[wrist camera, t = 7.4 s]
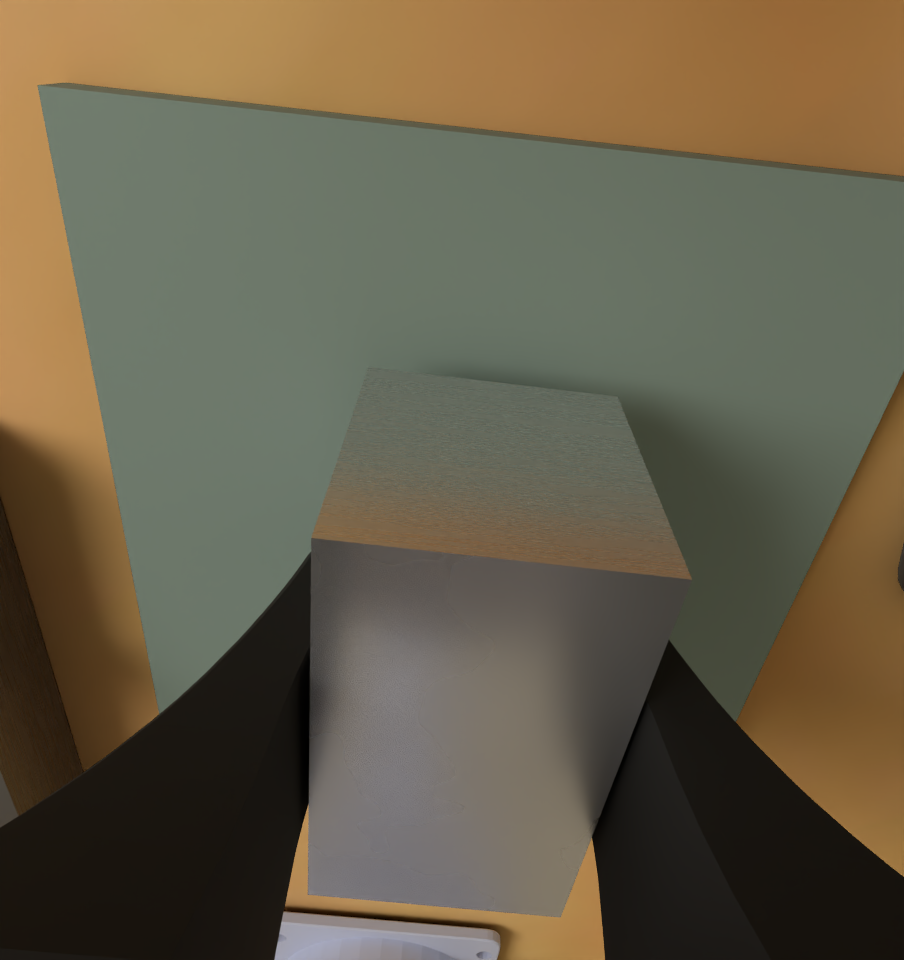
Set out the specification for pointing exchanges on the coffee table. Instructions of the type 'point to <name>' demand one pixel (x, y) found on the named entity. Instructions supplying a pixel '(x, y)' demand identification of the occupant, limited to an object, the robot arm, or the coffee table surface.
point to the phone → (901, 570)
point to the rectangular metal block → (478, 639)
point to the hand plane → (27, 699)
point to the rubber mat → (464, 335)
